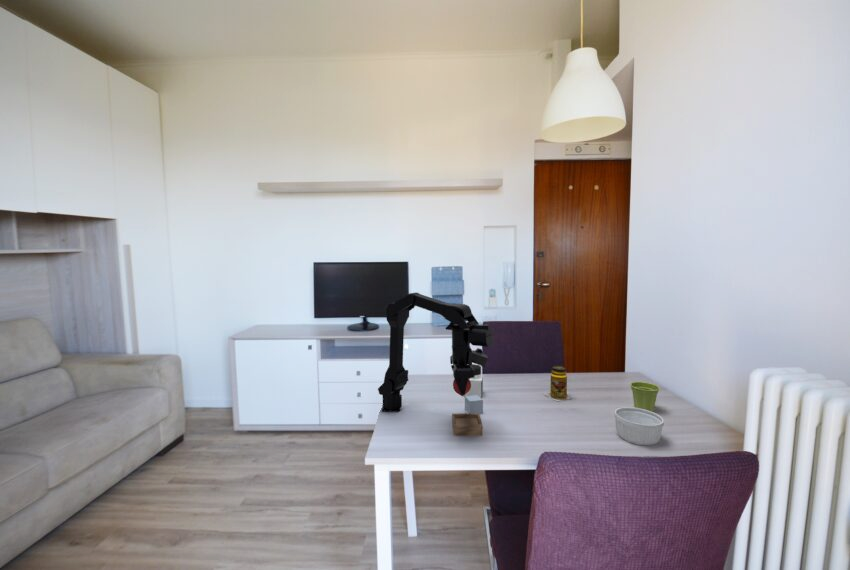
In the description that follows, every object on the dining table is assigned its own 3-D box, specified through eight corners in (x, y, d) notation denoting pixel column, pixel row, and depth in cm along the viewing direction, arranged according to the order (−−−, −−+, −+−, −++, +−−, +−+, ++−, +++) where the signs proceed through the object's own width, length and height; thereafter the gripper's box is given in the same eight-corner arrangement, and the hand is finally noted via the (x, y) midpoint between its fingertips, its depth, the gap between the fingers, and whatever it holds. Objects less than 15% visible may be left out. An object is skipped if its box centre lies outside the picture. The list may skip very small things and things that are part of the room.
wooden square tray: (453, 437, 118) (453, 425, 117) (452, 424, 126) (452, 413, 126) (482, 436, 117) (482, 425, 117) (478, 424, 126) (478, 413, 126)
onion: (459, 400, 118) (458, 375, 118) (449, 395, 123) (449, 371, 123) (474, 397, 121) (474, 372, 120) (464, 391, 126) (464, 368, 126)
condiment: (557, 401, 144) (558, 371, 143) (542, 394, 152) (543, 365, 151) (572, 398, 147) (572, 368, 146) (556, 391, 155) (557, 363, 154)
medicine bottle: (481, 397, 149) (481, 368, 148) (463, 396, 150) (463, 367, 149) (482, 391, 156) (482, 363, 155) (465, 390, 157) (465, 362, 156)
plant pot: (627, 402, 143) (627, 380, 142) (655, 405, 139) (656, 383, 139) (631, 412, 134) (632, 388, 133) (662, 416, 131) (663, 391, 130)
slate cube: (469, 415, 133) (469, 401, 132) (464, 409, 138) (464, 396, 137) (482, 413, 134) (482, 399, 134) (477, 408, 139) (477, 394, 139)
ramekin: (674, 445, 111) (675, 422, 110) (635, 450, 108) (636, 427, 107) (639, 425, 124) (640, 405, 123) (604, 429, 121) (605, 408, 120)
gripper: (490, 350, 112) (491, 401, 113) (481, 337, 130) (482, 381, 131) (453, 351, 112) (454, 402, 113) (449, 338, 130) (450, 382, 131)
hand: (462, 391), depth 122 cm, fingers closed on onion, 6 cm apart
